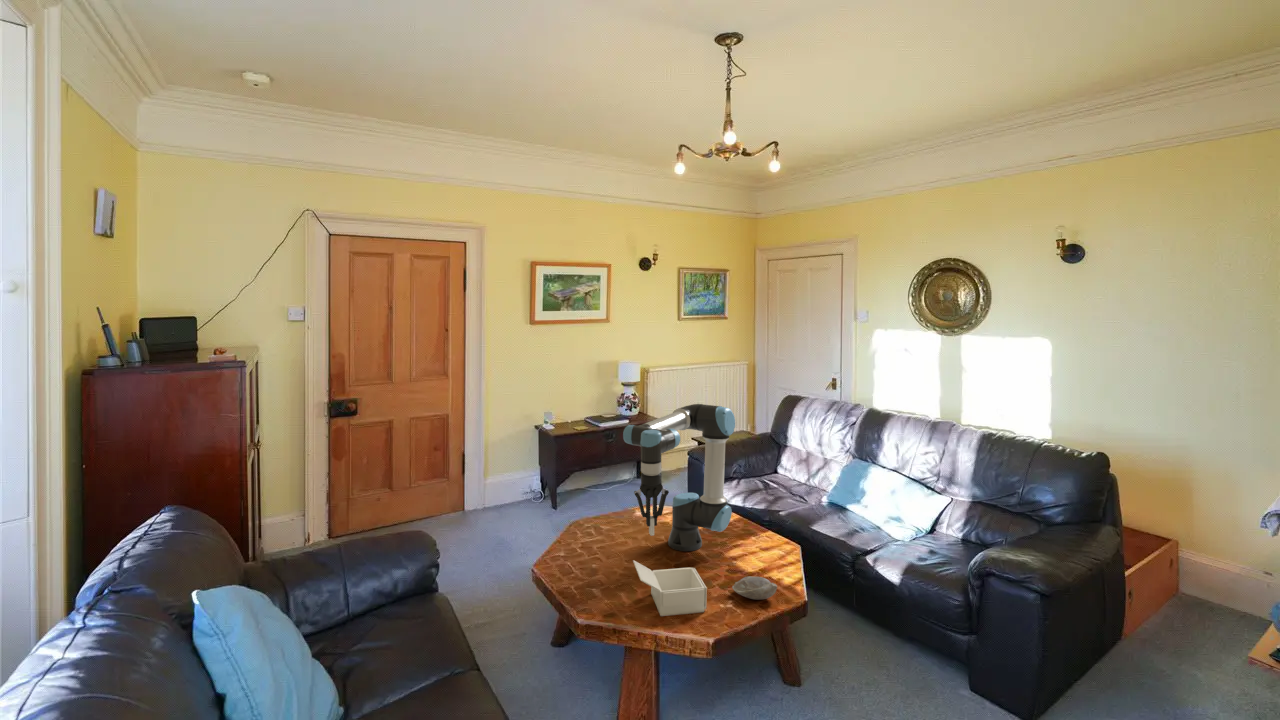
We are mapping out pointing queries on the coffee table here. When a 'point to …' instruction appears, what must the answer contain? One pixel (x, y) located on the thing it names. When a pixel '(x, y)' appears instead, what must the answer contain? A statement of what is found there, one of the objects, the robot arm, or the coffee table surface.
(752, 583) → the seashell
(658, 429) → the robot arm
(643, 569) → the flap
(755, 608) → the coffee table surface
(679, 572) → the white open box
